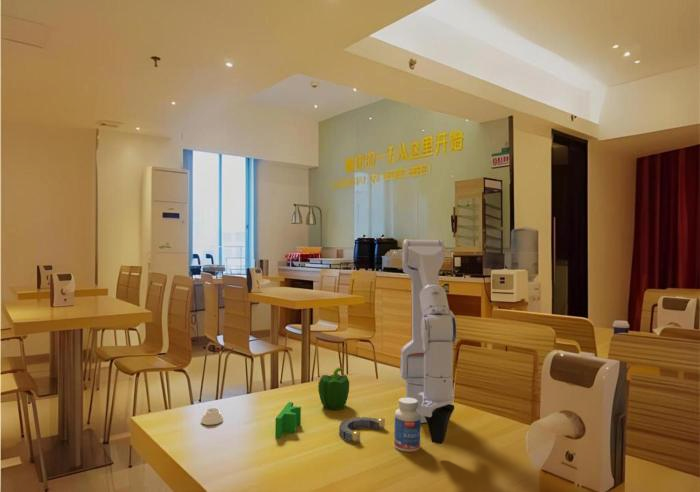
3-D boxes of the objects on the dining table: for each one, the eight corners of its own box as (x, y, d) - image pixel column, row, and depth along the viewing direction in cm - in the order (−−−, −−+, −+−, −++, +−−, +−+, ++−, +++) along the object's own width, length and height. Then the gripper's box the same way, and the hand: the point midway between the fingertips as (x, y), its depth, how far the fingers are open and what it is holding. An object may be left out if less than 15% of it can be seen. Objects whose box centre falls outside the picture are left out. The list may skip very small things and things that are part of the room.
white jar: (224, 424, 109) (221, 417, 114) (225, 411, 109) (221, 405, 114) (202, 427, 107) (199, 420, 111) (203, 414, 107) (200, 408, 111)
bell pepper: (327, 414, 116) (328, 374, 116) (313, 404, 123) (313, 367, 123) (356, 409, 120) (356, 370, 120) (340, 400, 127) (341, 363, 127)
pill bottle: (403, 454, 93) (404, 405, 93) (389, 444, 98) (389, 398, 98) (425, 449, 96) (426, 402, 96) (410, 439, 101) (411, 394, 101)
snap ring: (386, 428, 107) (386, 419, 107) (356, 445, 98) (356, 434, 98) (359, 421, 111) (359, 411, 112) (328, 436, 102) (329, 426, 102)
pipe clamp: (292, 440, 100) (292, 419, 100) (275, 439, 101) (275, 418, 101) (303, 421, 112) (303, 402, 112) (288, 420, 112) (288, 401, 112)
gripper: (431, 364, 101) (431, 426, 101) (405, 379, 89) (405, 450, 89) (463, 368, 98) (463, 433, 98) (441, 385, 85) (440, 459, 85)
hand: (437, 442), depth 93 cm, fingers closed
